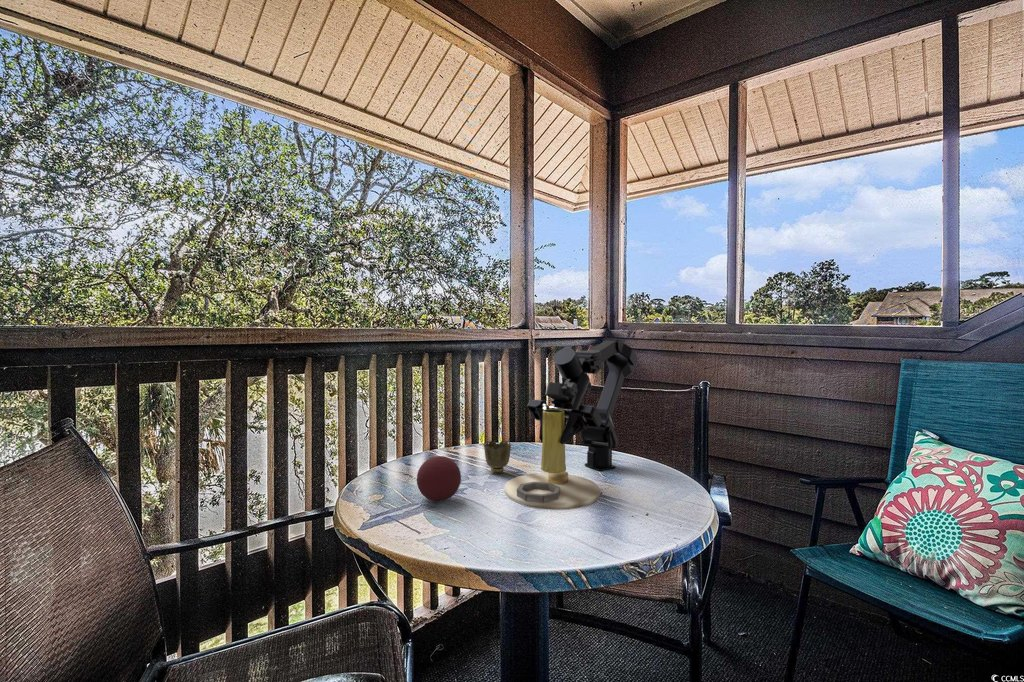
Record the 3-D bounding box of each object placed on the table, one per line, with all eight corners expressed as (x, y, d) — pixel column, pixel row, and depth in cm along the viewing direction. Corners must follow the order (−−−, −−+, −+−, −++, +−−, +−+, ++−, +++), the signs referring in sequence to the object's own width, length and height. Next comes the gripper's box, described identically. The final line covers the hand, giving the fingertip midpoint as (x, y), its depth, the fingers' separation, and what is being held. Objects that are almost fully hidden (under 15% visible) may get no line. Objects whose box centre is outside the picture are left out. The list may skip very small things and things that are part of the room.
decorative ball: (449, 510, 102) (449, 464, 102) (408, 505, 105) (408, 460, 105) (467, 495, 112) (468, 453, 111) (429, 490, 115) (430, 449, 115)
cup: (512, 469, 133) (512, 440, 133) (509, 477, 126) (509, 447, 126) (486, 468, 134) (486, 440, 134) (481, 476, 127) (481, 446, 127)
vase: (535, 469, 115) (535, 410, 115) (553, 464, 119) (554, 407, 119) (553, 475, 110) (553, 413, 110) (571, 470, 114) (571, 411, 114)
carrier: (561, 472, 131) (561, 461, 131) (621, 497, 111) (621, 484, 111) (487, 485, 119) (487, 473, 119) (539, 516, 99) (539, 501, 99)
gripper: (530, 368, 123) (505, 417, 114) (596, 372, 112) (574, 426, 103) (546, 395, 129) (523, 443, 121) (610, 401, 118) (590, 454, 110)
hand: (550, 441), depth 113 cm, fingers closed on vase, 5 cm apart
